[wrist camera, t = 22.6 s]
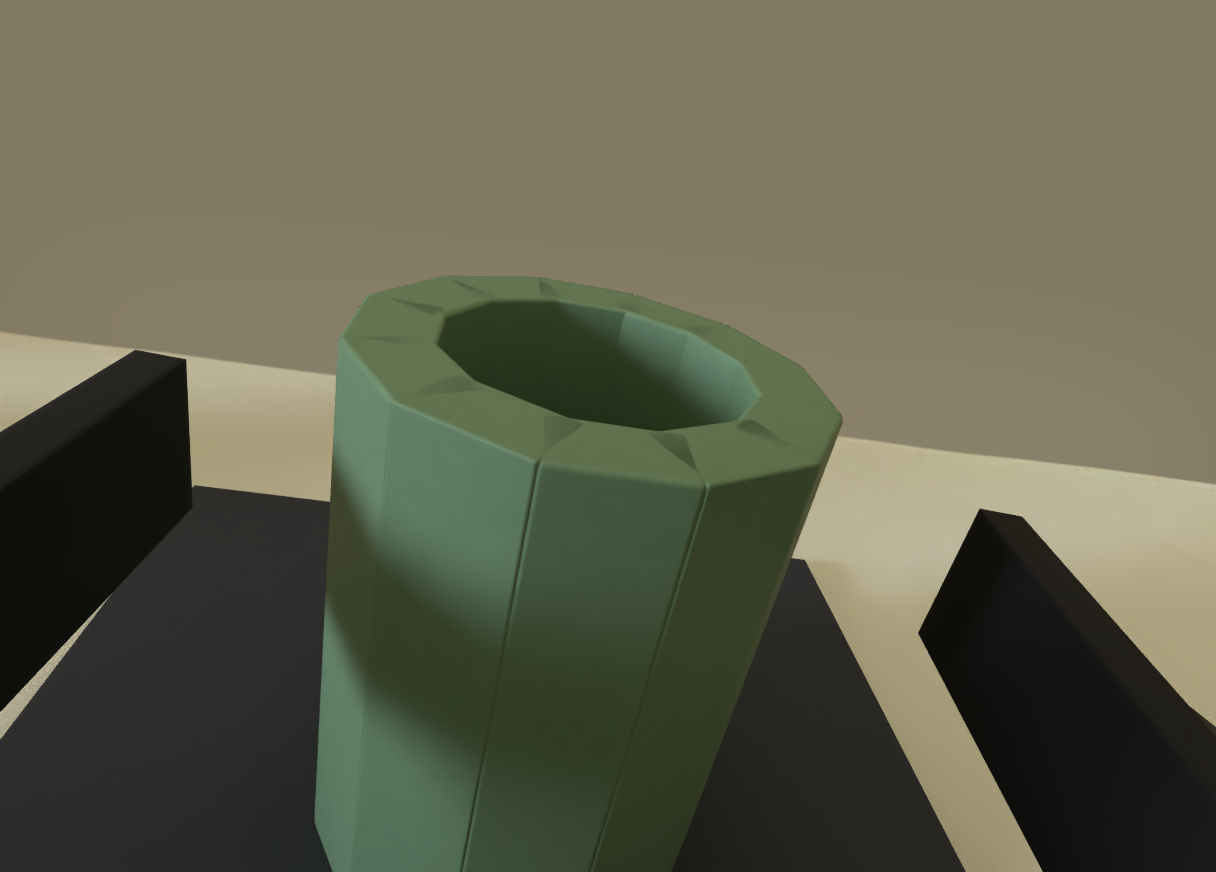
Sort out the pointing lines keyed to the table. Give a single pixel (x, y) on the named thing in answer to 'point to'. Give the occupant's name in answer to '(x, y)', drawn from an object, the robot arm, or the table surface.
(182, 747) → the placemat
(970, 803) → the table surface
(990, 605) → the robot arm
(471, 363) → the hollow cylinder
